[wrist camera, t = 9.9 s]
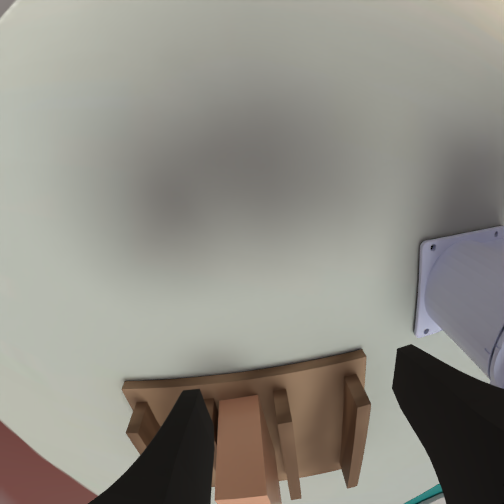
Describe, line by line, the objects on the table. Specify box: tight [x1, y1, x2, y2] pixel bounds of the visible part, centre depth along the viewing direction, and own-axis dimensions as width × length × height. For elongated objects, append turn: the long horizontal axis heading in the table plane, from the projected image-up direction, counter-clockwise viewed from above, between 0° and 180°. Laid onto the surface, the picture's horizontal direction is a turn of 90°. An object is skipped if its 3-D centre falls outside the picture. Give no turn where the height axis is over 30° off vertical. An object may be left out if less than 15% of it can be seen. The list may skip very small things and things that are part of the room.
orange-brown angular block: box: [215, 395, 282, 504], centre depth 19 cm, size 3×8×9 cm, turn 12°
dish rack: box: [122, 349, 371, 500], centre depth 22 cm, size 19×16×4 cm
